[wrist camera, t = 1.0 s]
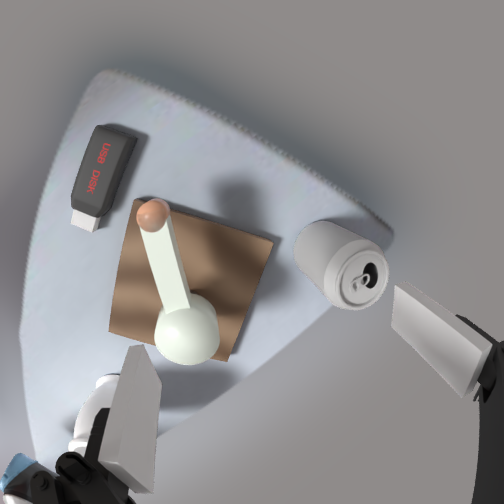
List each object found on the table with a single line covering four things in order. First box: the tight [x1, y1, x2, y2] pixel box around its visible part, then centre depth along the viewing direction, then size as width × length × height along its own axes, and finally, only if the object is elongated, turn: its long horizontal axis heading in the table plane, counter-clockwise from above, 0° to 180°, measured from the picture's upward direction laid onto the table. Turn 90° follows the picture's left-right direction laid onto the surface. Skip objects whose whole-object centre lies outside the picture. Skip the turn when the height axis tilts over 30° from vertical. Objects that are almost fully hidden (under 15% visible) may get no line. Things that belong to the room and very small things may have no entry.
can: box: [293, 221, 389, 310], centre depth 31 cm, size 8×8×12 cm
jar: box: [68, 375, 120, 457], centre depth 31 cm, size 11×10×15 cm
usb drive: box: [71, 125, 137, 232], centre depth 28 cm, size 5×12×3 cm, turn 155°
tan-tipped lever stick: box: [137, 198, 220, 365], centre depth 26 cm, size 16×6×4 cm, turn 10°
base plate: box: [109, 199, 274, 362], centre depth 34 cm, size 18×17×2 cm
